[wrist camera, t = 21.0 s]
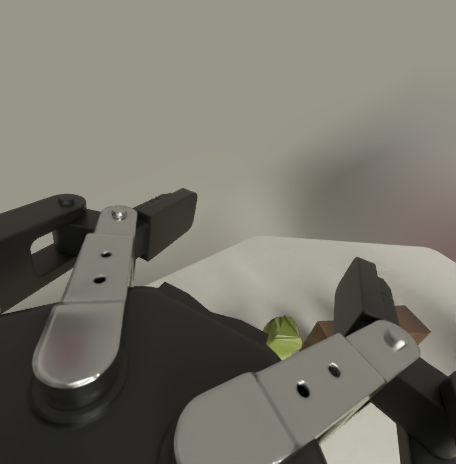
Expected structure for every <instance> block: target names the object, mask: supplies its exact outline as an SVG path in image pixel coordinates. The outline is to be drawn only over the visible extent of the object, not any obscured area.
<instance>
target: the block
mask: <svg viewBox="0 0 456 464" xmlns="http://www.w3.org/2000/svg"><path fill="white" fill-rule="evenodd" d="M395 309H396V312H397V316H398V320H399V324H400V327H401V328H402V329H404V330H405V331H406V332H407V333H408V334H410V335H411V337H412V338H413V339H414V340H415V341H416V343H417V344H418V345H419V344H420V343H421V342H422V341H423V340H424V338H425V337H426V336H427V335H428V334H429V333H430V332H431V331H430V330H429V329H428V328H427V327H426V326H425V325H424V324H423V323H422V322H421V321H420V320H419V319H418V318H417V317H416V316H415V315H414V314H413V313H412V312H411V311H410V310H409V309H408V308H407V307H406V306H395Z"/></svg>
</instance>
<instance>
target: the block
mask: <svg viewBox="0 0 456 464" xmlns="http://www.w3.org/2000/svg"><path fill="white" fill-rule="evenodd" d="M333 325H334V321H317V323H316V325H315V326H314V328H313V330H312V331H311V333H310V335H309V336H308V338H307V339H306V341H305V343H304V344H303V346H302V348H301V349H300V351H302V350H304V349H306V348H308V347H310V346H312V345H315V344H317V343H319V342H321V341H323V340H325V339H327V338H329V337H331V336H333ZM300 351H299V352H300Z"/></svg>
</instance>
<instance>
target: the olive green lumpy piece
mask: <svg viewBox="0 0 456 464" xmlns="http://www.w3.org/2000/svg"><path fill="white" fill-rule="evenodd" d="M263 332H265V333H267V334H269V336H268V339H267V342H266V344H267V345H268V346H269V347H270V348H271V349H272V350H273V351H274V352H275V353H276V354H277V355H278V356H279V357H280V358H281V360H284V359H286V358H288V357H290V356H292V355H293V352H294V351H297V350H299V349H301V347H302V340H301V337H300V336H299V333H298V329H297V325H296V323H295V321H293V320H292V318H290V317H286V316H285V315H284V316H283V317H276V318H275V319H272V320H271V321H270V322H268V323H267V325H266V326H265V327H264V329H263Z"/></svg>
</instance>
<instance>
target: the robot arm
mask: <svg viewBox="0 0 456 464" xmlns="http://www.w3.org/2000/svg"><path fill="white" fill-rule="evenodd" d="M196 202H197V194H196V193H194V192H192V191H189V190H187V189H184V188H182V189H180V190H178V191H176V192H174V193H169V194H162V195H160V196H158V197H155V199H151V200H149V201H147V202H145V203H143V204H140V205H138V206H137V207H134V208H130V207H126V206H110V207H107V208H105V209H103V210H102V211H101V212H99V211H94V210H90V209H87V208H86V200H85V199H84V198H83V197H81V196H78V195H74V194H60V195H55V196H52V197H49V198H46V199H43V200H40V201H37V202H34V203H31V204H28V205H25V206H22V207H19V208H16V209H13V210H10V211H7V212H4V213H1V214H0V464H327V462H326V459H325V457H324V454H323V452H322V450H321V447H320V445H321V444H322V443H323V442H325V441H326V440H327V439H328V438H329V437H330V436H331V435H332V434H334V433H335V432H336V431H337V430H338V429H339V428H341V427H342V426H343V425H344V424H346V423H347V422H348V421H349V420H350V419H352V418H353V417H354V416H355V415H357V414H358V413H359V412H360V411H362V410H363V409H364V408H365V407H366V406H368V405H369V404H370V403H372V404H374V405H375V406H376V407H377V408H378V409H380V410H381V411H382V412H383V413H384V414H386V415H387V416H388V417H389V418H390V419H392V420H393V421H394V422H395V423H396V426H397V435H398V444H399V454H400V463H401V464H456V371H454V372H453V373H452V374H451V375H449V376H446V375H445V374H443V373H442V372H440V371H439V370H437V369H436V368H434V367H433V366H431V365H430V364H429V363H427V362H426V361H424V360H423V359H422V358H420V349H419V346H418V344H417V343H416V341H415V340H414V339H413V338H412V337H411V335H410V334H408V333H407V332H406V331H405V330H404V329H402V328H401V327H400V324H399V320H398V316H397V312H396V309H395V306H394V301H393V299H392V298H393V297H392V293H391V289H390V287H389V286H388V285H387V283H386V282H385V281H384V279H382V278H379V277H378V276H377V271H376V266H375V264H374V263H372V262H369V261H366V260H364V259H361V258H359V257H356V258H355V259H354V260H353V261H352V263H351V265H350V266H349V268H348V270H347V271H346V273H345V274H344V276H343V278H342V279H341V281H340V283H339V285H338V287H337V289H336V293H335V305H334V325H333V336H331V337H329V338H327V339H325V340H323V341H321V342H319V343H317V344H315V345H312V346H310V347H308V348H306V349H304V350H302V351H300V352H298V353H296V354H294V355H292V356H290V357H288V358H286V359H284V360H281V358H280V357H279V356H278V355H277V354H276V353H275V352H274V351H273V350H272V349H271V348H270V347H269V346H268V345H267V344H266V342H267V339H268V336H269V334H267V333H265V332H263V331H261V330H259V329H257V328H255V327H253V326H251V325H249V324H247V323H245V322H243V321H241V320H238V319H234V318H231V317H227V316H223V315H220V314H216V313H213V312H210V311H209V310H207V309H206V308H205V307H204V306H203V305H201V304H200V303H199V302H198V301H197V300H195V299H194V298H193V297H192V296H191V295H189V294H188V293H186V292H184V291H182V290H180V289H178V288H176V287H174V286H172V285H170V284H168V283H166V282H164V283H163V284H162V285H161V286H160V287H159V288H154V287H147V286H134V287H133V285H134V274H135V262H136V259H137V258H138V257H140V258H142V259H144V260H146V261H150V260H151V259H152V258H154V257H155V256H156V255H157V254H158V253H160V252H161V251H163V250H164V249H165V248H166V247H168V246H169V245H170V244H172V243H173V242H174V241H175V240H177V239H178V238H179V237H181V236H182V235H183V234H184V233H186V232H187V231H188V230H189V229H190V228H191V226H192V223H193V220H194V215H195V209H196ZM50 232H52V234H53V240H54V243H53V244H51V245H49V246H47V247H45V248H43V249H41V250H40V251H38V252H36V253H34V254H32V255H31V251H30V248H31V245H32V243H33V242H34V241H35V240H36V239H37V238H39V237H41V236H43V235H45V234H48V233H50ZM73 267H74V269H73V271H72V273H71V276H70V279H69V281H68V284H67V286H66V289H65V291H64V294H63V297H62V299H61V301H60V302H57V303H53V304H48V305H43V306H39V307H34V308H30V309H25V310H21V311H16V312H11V313H6V314H2V313H4V312H5V311H7V310H8V309H10V308H11V307H13V306H14V305H16V304H18V303H19V302H21V301H22V300H24V299H25V298H27V297H28V296H30V295H32V294H33V293H35V292H36V291H38V290H39V289H41V288H42V287H44V286H45V285H47V284H48V283H50V282H52V281H53V280H55V279H56V278H58V277H59V276H61V275H62V274H64V273H66V272H67V271H69V270H70V269H72V268H73ZM1 314H2V315H1Z"/></svg>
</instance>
